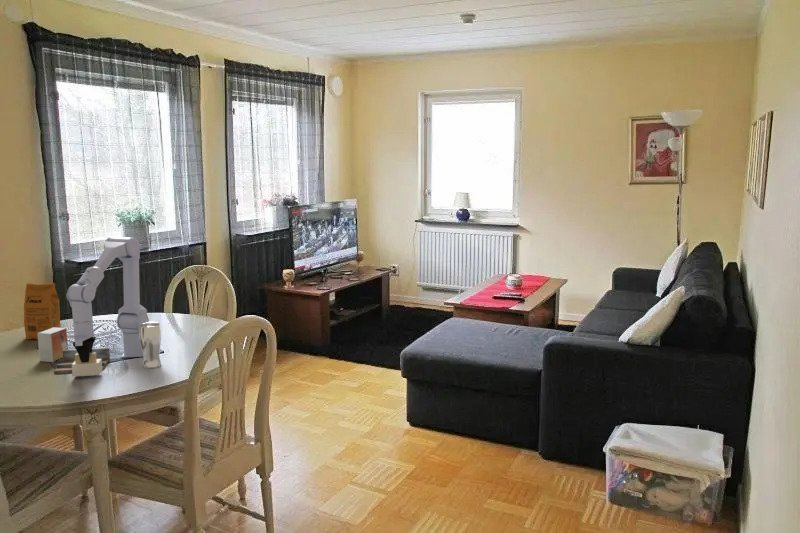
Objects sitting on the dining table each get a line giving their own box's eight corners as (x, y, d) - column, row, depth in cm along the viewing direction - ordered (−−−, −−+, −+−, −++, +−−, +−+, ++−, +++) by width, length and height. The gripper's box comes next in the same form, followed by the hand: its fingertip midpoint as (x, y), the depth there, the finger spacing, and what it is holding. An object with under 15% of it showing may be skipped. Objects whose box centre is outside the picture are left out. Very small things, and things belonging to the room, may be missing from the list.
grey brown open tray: (110, 359, 228) (109, 347, 227) (102, 370, 216) (101, 358, 215) (64, 362, 224) (63, 349, 224) (54, 373, 213) (53, 360, 212)
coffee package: (35, 333, 259) (30, 280, 255) (65, 333, 259) (61, 280, 255) (20, 340, 249) (15, 285, 245) (52, 340, 249) (47, 285, 245)
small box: (53, 362, 224) (50, 333, 222) (39, 361, 225) (36, 332, 223) (69, 355, 231) (66, 327, 230) (55, 354, 233) (53, 326, 231)
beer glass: (167, 364, 223) (164, 323, 221) (151, 370, 217) (149, 328, 214) (152, 361, 226) (149, 320, 224) (136, 367, 220) (134, 325, 217)
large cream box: (102, 370, 214) (101, 350, 213) (99, 374, 209) (97, 354, 208) (76, 371, 212) (75, 351, 211) (72, 376, 207) (70, 355, 206)
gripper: (75, 315, 212) (78, 354, 215) (63, 327, 198) (66, 368, 201) (98, 314, 214) (100, 353, 216) (87, 326, 200) (90, 367, 202)
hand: (86, 360), depth 209 cm, fingers closed on large cream box
